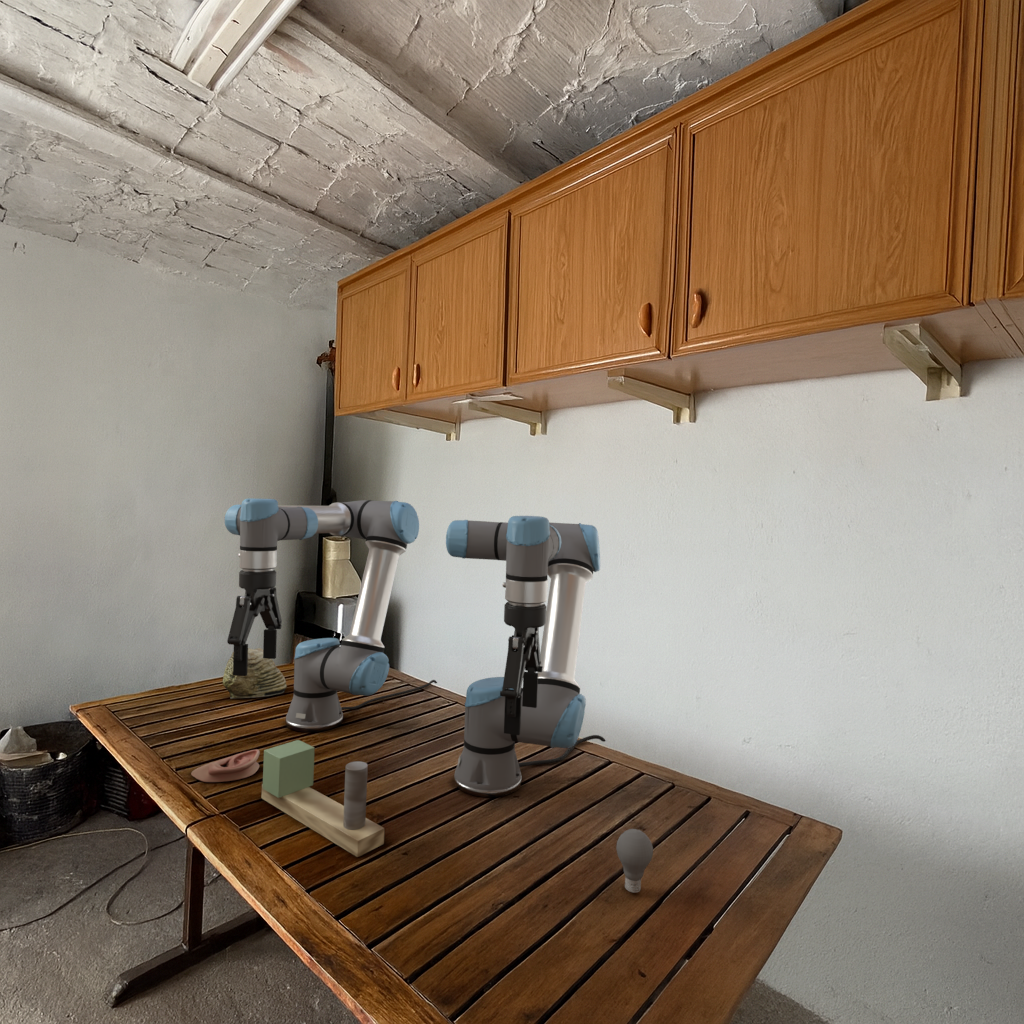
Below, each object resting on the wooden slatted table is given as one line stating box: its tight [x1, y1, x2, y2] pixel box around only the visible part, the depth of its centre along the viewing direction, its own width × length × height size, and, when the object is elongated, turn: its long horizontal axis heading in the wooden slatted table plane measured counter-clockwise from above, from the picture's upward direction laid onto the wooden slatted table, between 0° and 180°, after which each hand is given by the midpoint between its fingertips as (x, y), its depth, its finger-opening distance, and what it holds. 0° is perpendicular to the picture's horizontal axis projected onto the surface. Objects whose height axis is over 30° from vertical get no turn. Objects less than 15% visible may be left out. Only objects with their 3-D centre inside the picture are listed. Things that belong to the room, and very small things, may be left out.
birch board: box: [261, 760, 385, 858], centre depth 124 cm, size 6×32×14 cm, turn 51°
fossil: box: [222, 647, 288, 699], centre depth 198 cm, size 9×18×15 cm, turn 132°
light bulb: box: [615, 828, 654, 894], centre depth 106 cm, size 6×6×10 cm
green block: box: [262, 739, 315, 798], centre depth 131 cm, size 8×6×8 cm
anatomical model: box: [190, 748, 261, 783], centre depth 143 cm, size 13×4×12 cm
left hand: (255, 666), depth 138 cm, fingers open, 13 cm apart
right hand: (521, 719), depth 114 cm, fingers open, 13 cm apart
